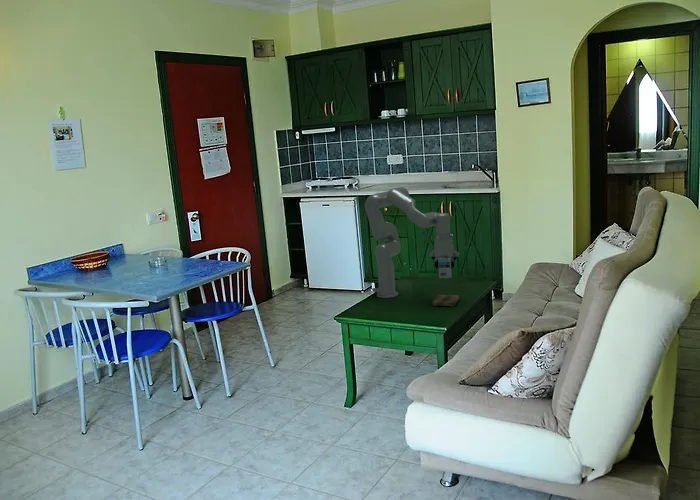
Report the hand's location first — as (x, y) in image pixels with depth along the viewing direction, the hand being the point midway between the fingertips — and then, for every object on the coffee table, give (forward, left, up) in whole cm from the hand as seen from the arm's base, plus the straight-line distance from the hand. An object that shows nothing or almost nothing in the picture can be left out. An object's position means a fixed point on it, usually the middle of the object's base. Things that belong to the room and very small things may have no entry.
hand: (444, 268), depth 329 cm
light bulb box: (0, 0, -5) cm, 5 cm away
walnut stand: (0, 0, -20) cm, 20 cm away
